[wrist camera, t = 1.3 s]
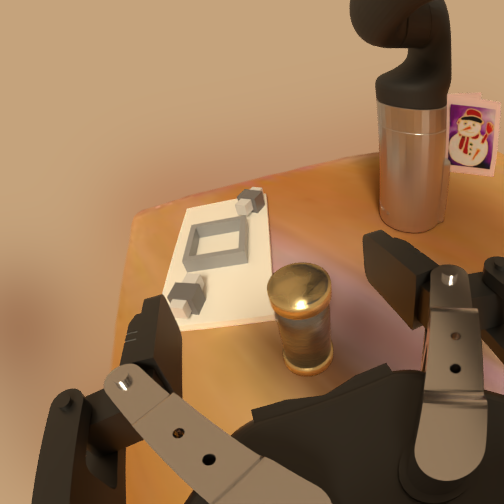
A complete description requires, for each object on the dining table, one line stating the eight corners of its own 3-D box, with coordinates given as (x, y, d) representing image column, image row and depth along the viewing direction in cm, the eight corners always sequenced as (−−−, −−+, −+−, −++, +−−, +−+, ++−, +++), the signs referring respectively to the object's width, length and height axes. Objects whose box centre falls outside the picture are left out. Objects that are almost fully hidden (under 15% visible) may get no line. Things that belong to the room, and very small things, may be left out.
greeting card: (441, 172, 50) (444, 95, 41) (436, 156, 56) (437, 87, 46) (494, 178, 46) (502, 103, 37) (485, 162, 51) (490, 94, 42)
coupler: (329, 332, 31) (325, 258, 25) (336, 372, 28) (336, 303, 21) (282, 339, 32) (265, 267, 26) (285, 379, 28) (267, 313, 22)
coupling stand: (267, 198, 54) (263, 180, 52) (275, 320, 34) (270, 298, 32) (188, 213, 56) (182, 196, 54) (156, 333, 36) (143, 313, 34)
